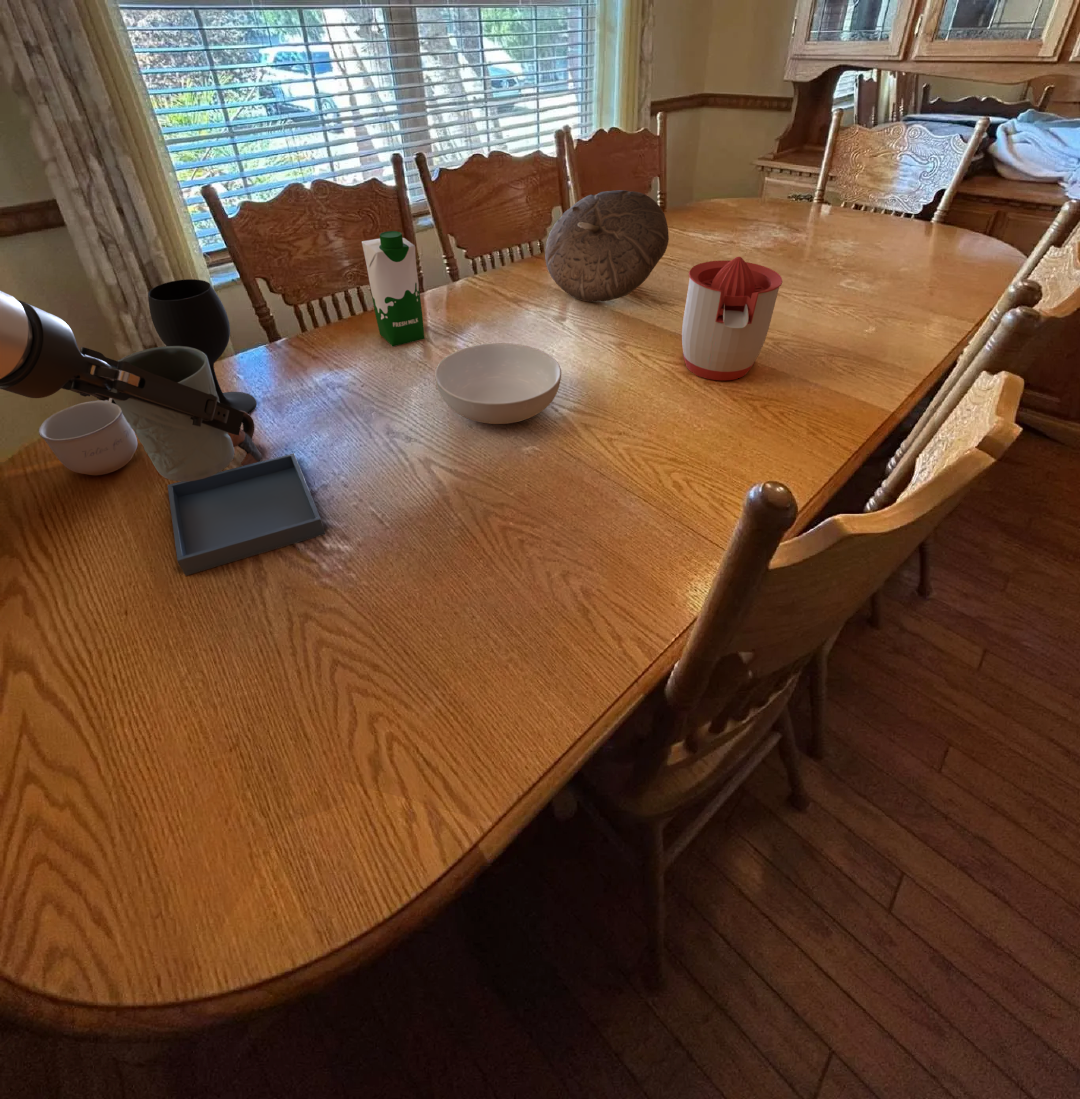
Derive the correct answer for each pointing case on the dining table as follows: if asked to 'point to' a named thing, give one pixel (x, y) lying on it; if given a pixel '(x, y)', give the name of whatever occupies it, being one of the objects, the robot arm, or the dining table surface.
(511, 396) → the serving bowl
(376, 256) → the milk carton
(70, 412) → the teacup
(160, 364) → the gray ceramic cup
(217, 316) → the wine glass
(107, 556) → the dining table surface
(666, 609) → the dining table surface
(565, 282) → the brown fungus
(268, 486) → the dark gray rectangular tray
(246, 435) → the broken clay jug
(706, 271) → the citrus juicer
